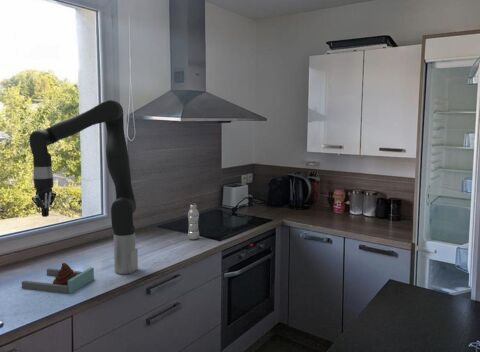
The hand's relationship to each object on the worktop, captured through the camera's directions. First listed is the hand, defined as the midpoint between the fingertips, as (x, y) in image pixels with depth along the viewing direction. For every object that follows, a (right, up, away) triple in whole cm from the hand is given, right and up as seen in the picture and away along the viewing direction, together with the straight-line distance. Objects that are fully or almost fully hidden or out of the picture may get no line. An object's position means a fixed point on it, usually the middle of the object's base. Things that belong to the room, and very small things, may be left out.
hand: (45, 216), depth 179 cm
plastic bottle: (+58, -19, +56) cm, 82 cm away
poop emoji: (+14, -27, -11) cm, 32 cm away
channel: (+9, -27, -9) cm, 30 cm away
